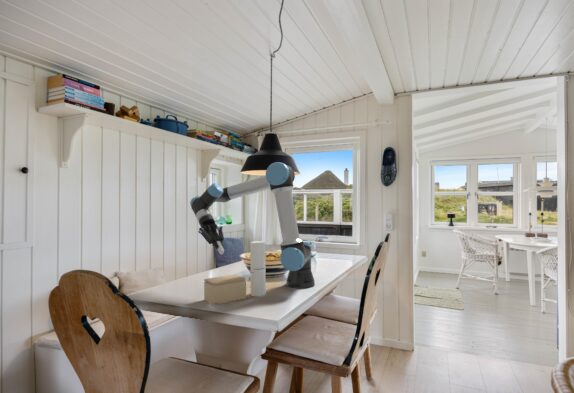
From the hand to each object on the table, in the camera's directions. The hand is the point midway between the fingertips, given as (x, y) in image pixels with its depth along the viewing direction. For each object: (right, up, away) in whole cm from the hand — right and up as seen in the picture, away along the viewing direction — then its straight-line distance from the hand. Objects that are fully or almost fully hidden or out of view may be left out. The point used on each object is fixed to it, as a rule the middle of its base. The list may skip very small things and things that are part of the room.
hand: (222, 252), depth 156 cm
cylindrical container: (+17, -20, 0) cm, 27 cm away
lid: (+3, -12, -7) cm, 14 cm away
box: (+3, -20, -8) cm, 21 cm away
